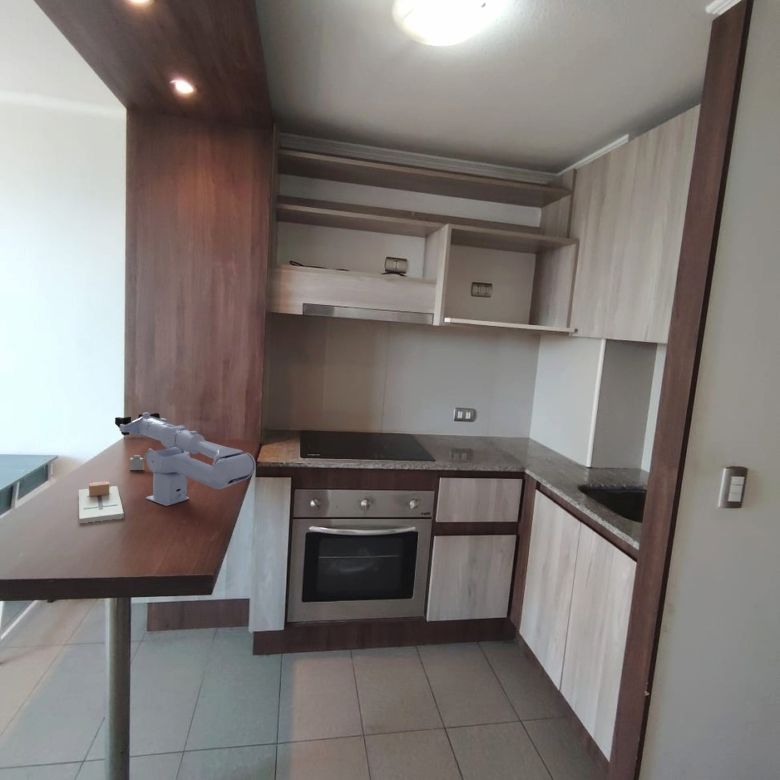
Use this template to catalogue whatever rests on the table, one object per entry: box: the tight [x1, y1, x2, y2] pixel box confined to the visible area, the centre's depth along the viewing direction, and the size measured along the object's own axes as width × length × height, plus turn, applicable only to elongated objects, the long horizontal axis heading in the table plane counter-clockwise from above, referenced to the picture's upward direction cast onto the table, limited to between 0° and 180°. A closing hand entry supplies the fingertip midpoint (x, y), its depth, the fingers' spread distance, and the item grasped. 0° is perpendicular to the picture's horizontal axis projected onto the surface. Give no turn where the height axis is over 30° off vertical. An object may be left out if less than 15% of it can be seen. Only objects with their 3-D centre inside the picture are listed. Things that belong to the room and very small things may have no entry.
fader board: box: [78, 485, 125, 524], centre depth 138 cm, size 24×10×2 cm, turn 33°
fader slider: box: [88, 480, 110, 496], centre depth 141 cm, size 3×5×3 cm, turn 123°
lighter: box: [129, 447, 154, 471], centre depth 171 cm, size 7×2×8 cm, turn 104°
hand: (128, 418), depth 153 cm, fingers open, 7 cm apart
